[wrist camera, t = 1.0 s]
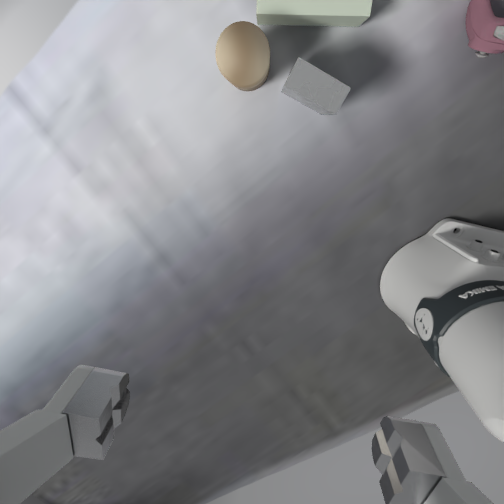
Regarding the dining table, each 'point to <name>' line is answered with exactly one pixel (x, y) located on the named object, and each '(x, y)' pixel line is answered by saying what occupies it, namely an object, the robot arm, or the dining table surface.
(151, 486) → the dining table surface
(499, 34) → the video game controller
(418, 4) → the dining table surface
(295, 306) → the dining table surface
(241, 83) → the round beech peg
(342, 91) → the grey rectangular block
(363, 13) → the slot block
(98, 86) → the dining table surface
